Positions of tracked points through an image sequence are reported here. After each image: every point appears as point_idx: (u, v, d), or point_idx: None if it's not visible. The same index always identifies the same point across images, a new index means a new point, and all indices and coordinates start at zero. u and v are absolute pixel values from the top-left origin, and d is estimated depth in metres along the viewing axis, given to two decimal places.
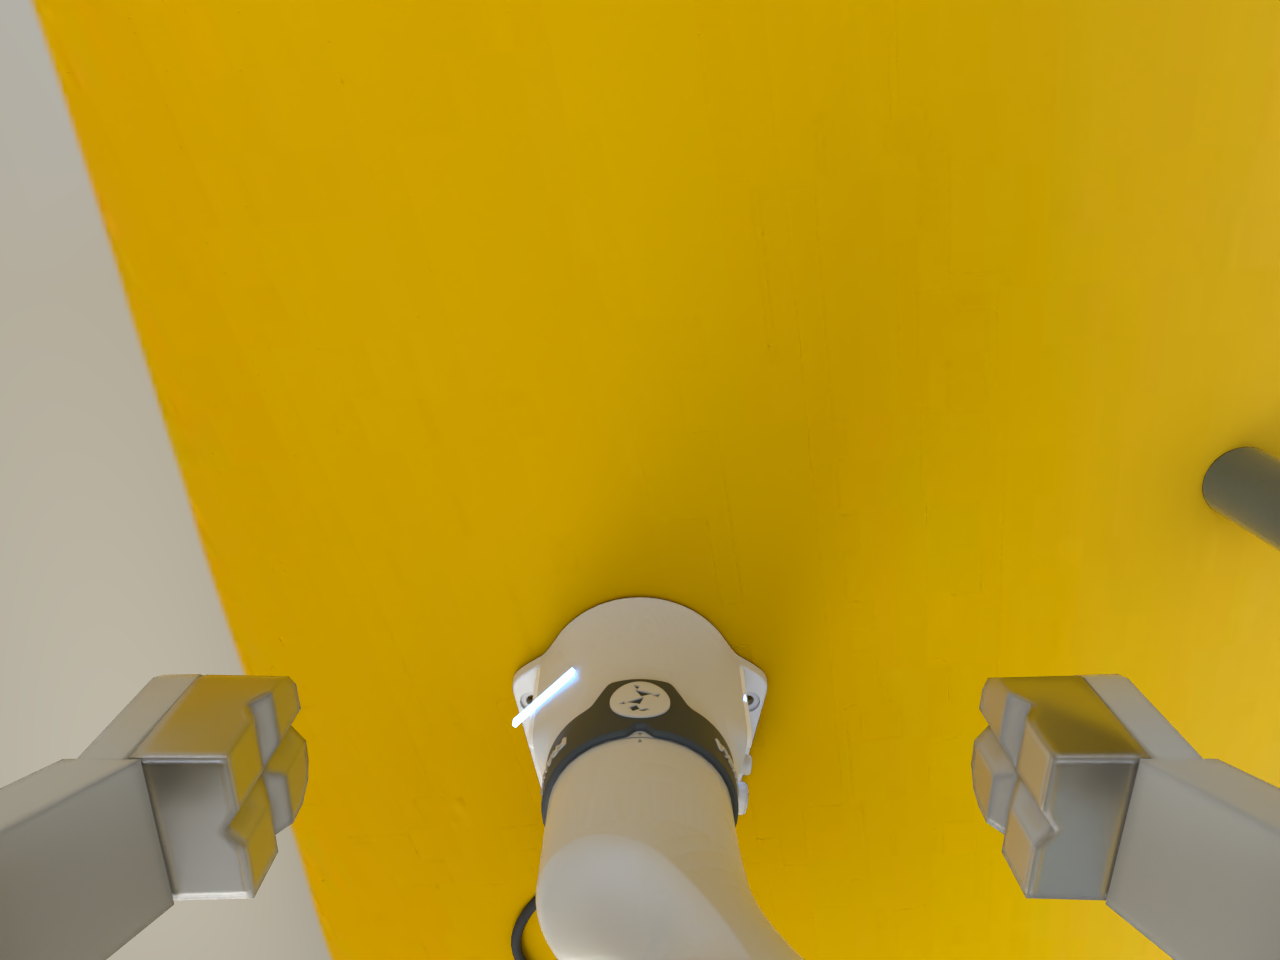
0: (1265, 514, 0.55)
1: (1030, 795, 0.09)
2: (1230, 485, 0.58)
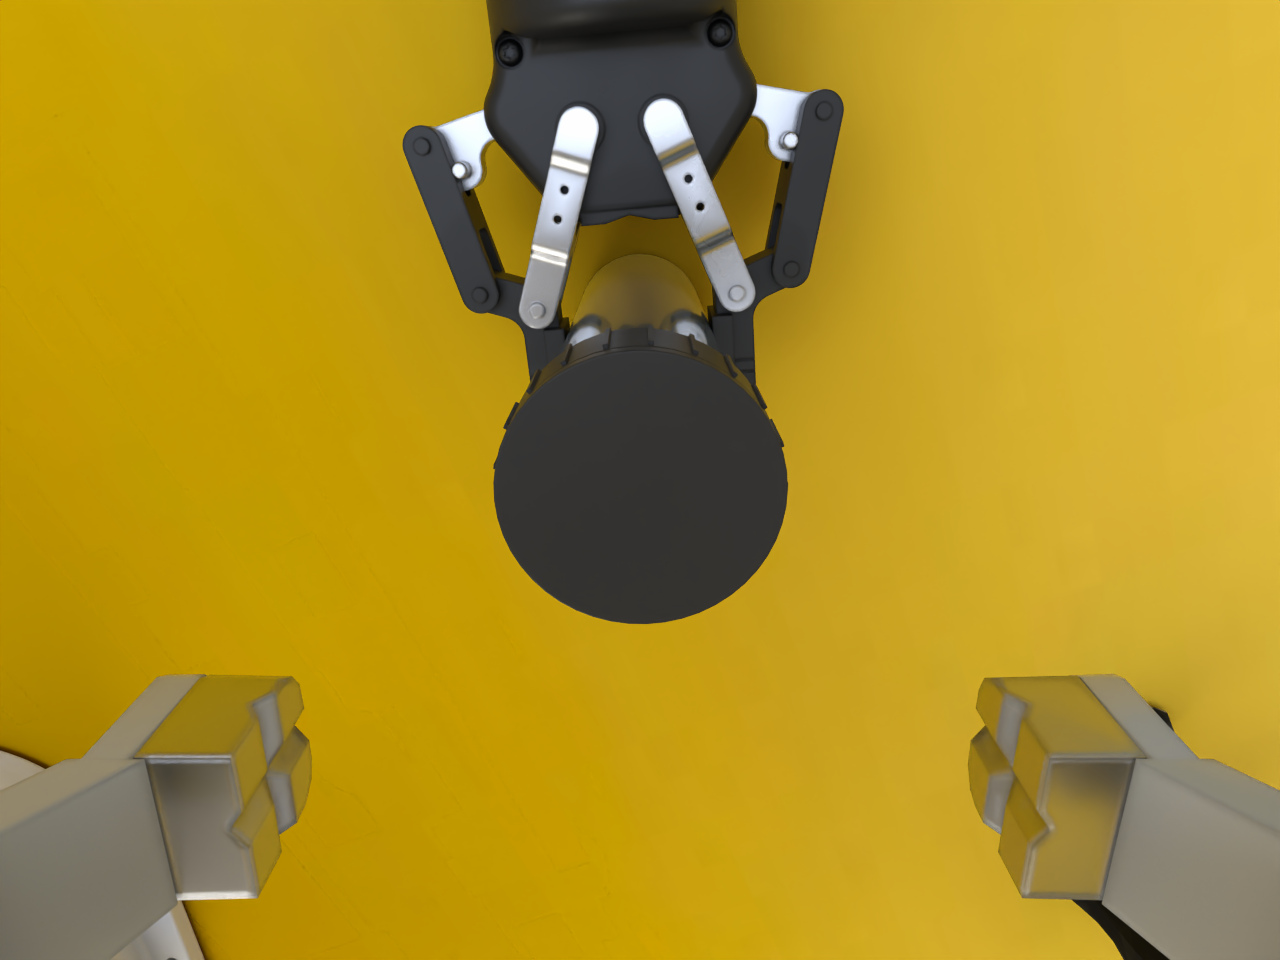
0: None
1: (1027, 794, 0.09)
2: None
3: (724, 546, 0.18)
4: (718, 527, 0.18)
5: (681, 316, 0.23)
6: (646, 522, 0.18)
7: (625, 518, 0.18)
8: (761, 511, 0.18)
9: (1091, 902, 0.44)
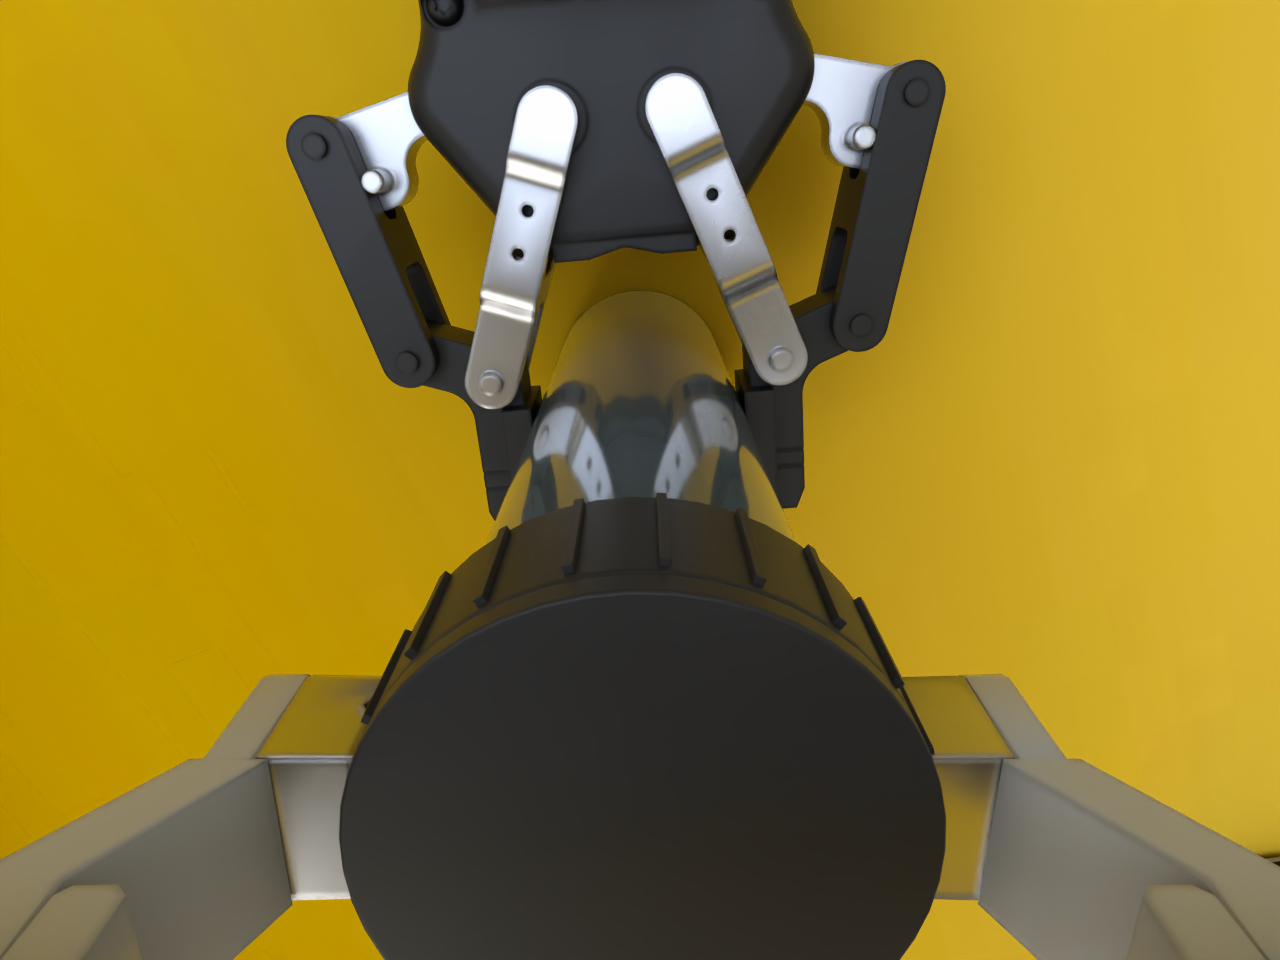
0: None
1: None
2: None
3: (811, 949, 0.09)
4: (800, 917, 0.09)
5: (707, 420, 0.15)
6: (654, 908, 0.09)
7: (611, 901, 0.09)
8: (889, 890, 0.09)
9: None
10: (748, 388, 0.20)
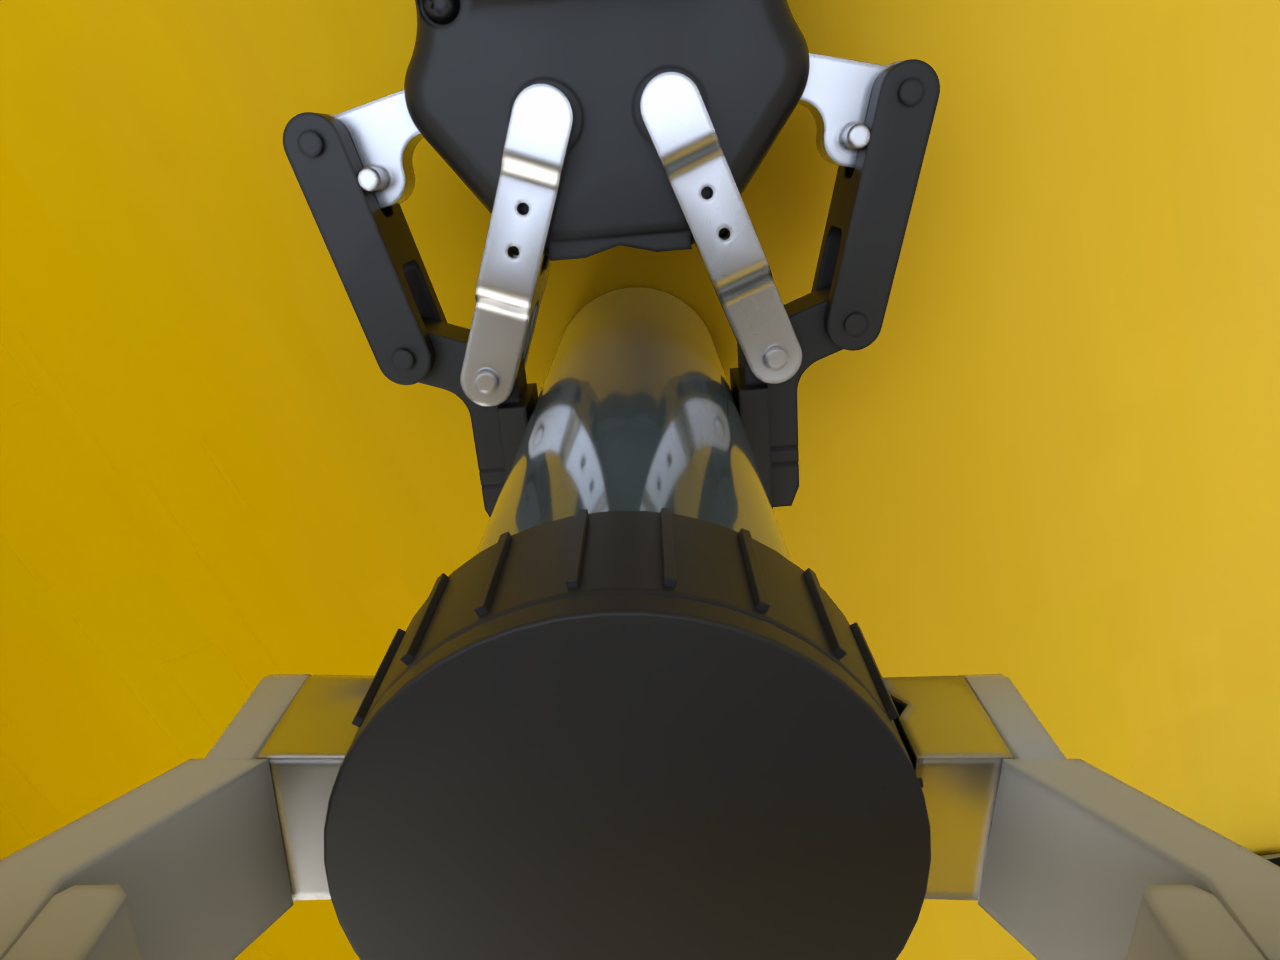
0: None
1: None
2: None
3: (719, 717, 0.08)
4: (675, 735, 0.08)
5: (699, 422, 0.15)
6: (685, 861, 0.08)
7: (683, 895, 0.09)
8: (620, 660, 0.08)
9: None
10: (743, 386, 0.21)
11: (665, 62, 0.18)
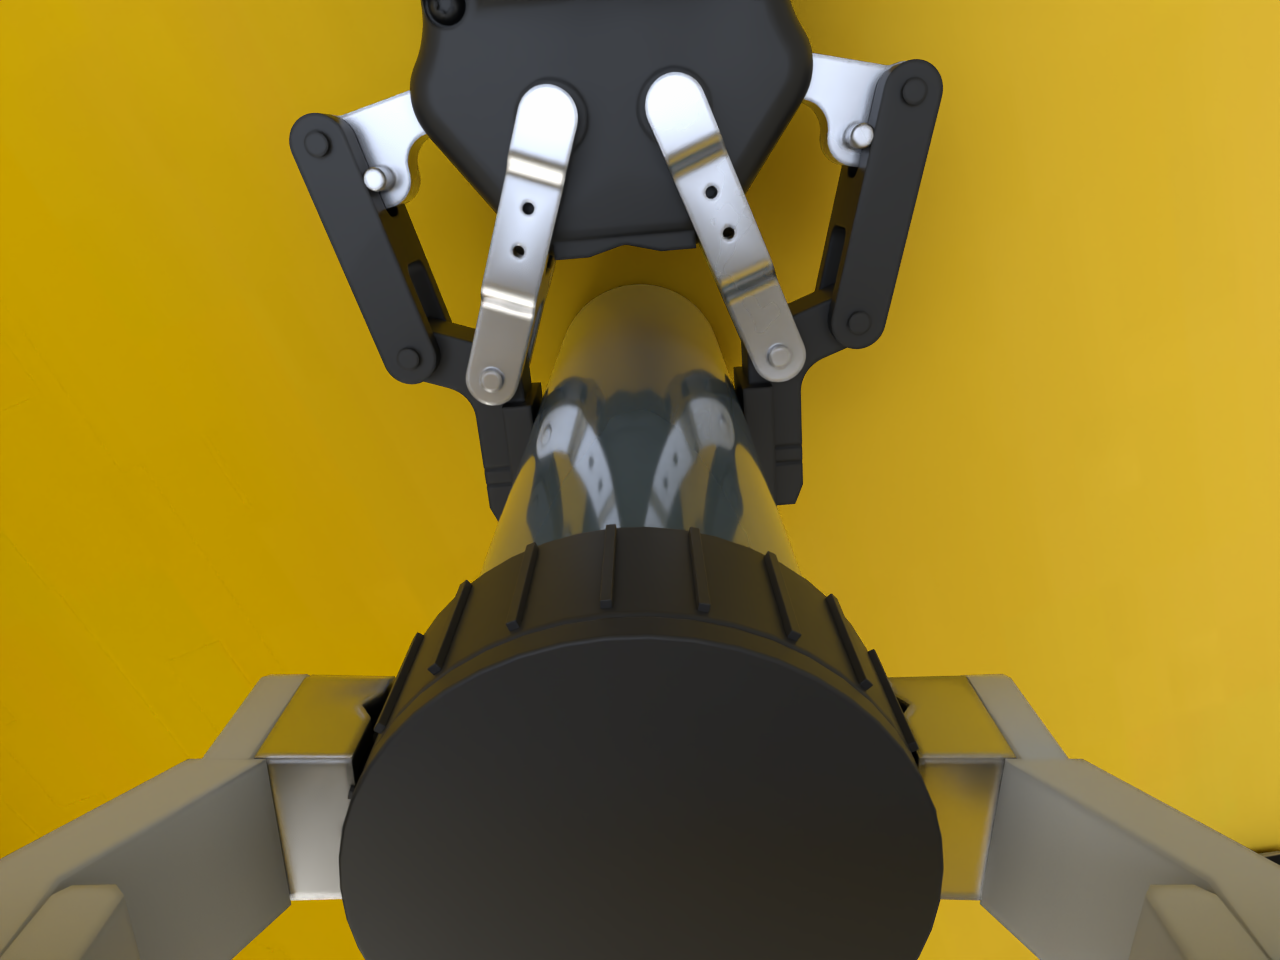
0: None
1: None
2: None
3: (433, 856, 0.08)
4: (463, 884, 0.08)
5: (705, 425, 0.15)
6: (609, 855, 0.08)
7: (654, 850, 0.08)
8: (398, 930, 0.09)
9: None
10: (747, 385, 0.21)
11: (670, 62, 0.18)
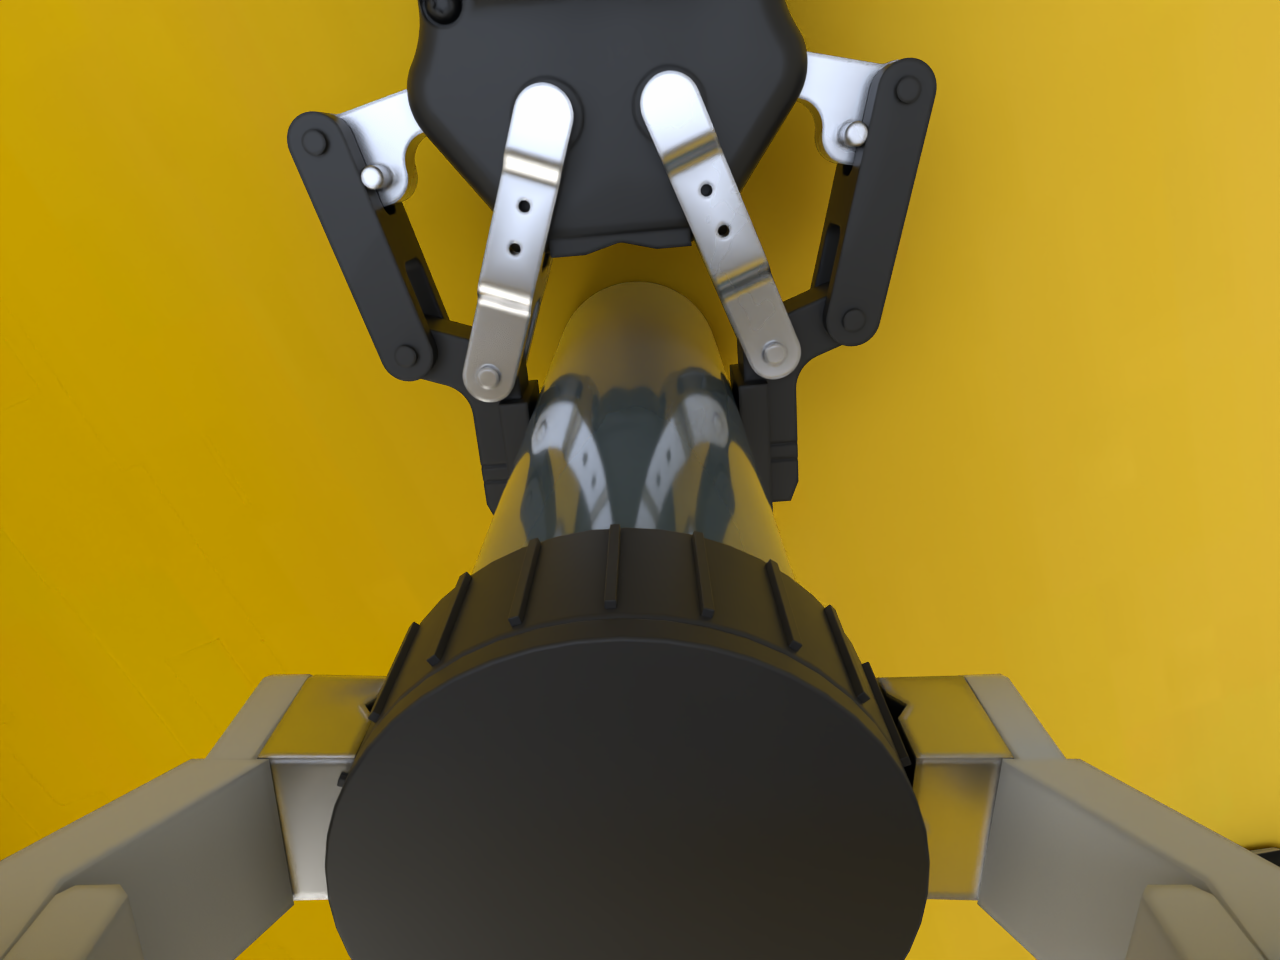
0: None
1: None
2: None
3: None
4: None
5: (698, 422, 0.15)
6: (580, 926, 0.09)
7: (566, 894, 0.08)
8: None
9: None
10: (742, 382, 0.21)
11: (665, 61, 0.18)
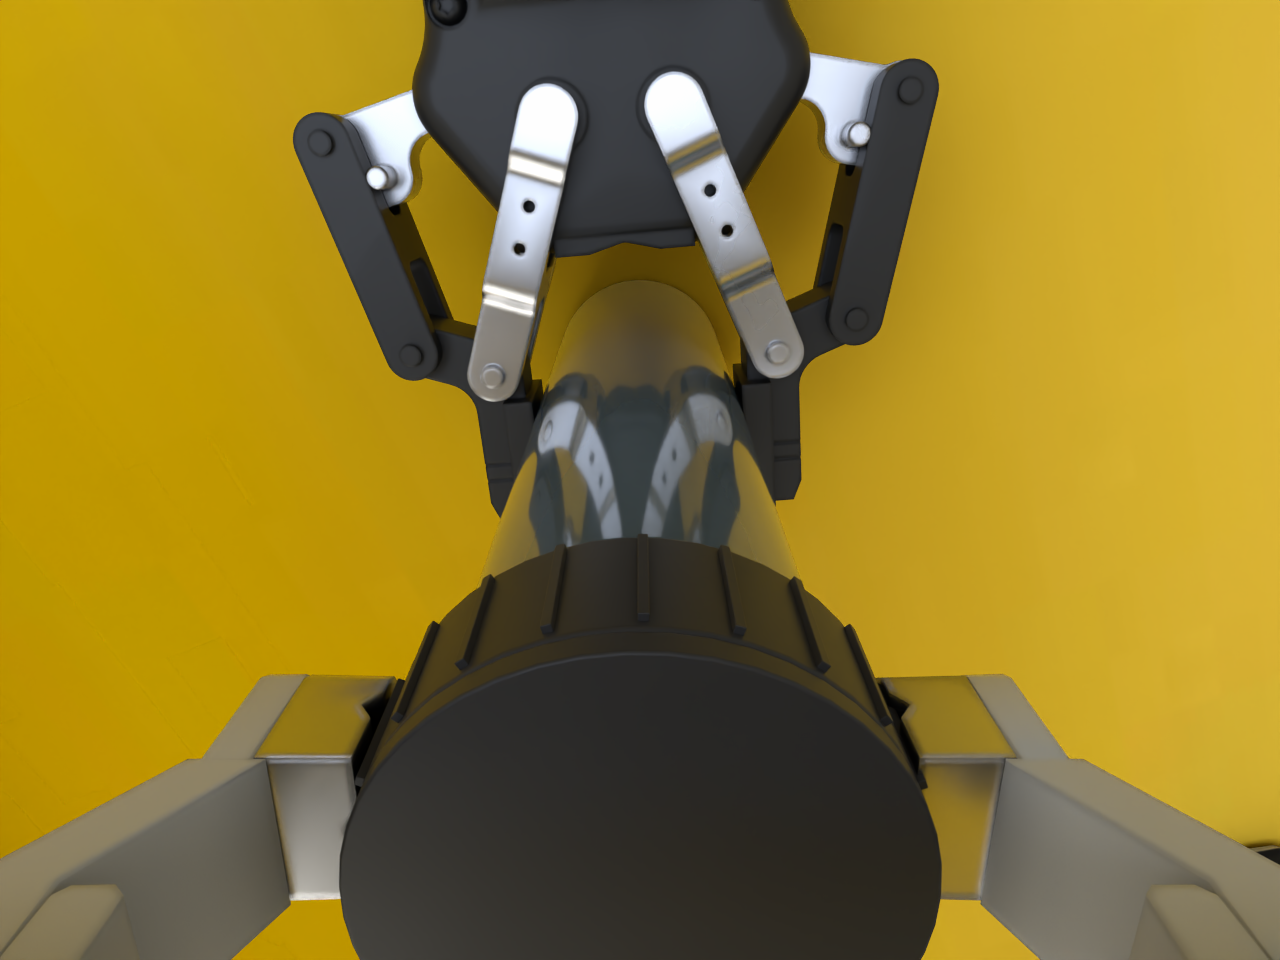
0: None
1: None
2: None
3: (850, 896, 0.08)
4: (814, 876, 0.08)
5: (704, 424, 0.15)
6: (685, 937, 0.09)
7: (646, 950, 0.09)
8: (871, 811, 0.08)
9: None
10: (746, 381, 0.21)
11: (669, 62, 0.18)
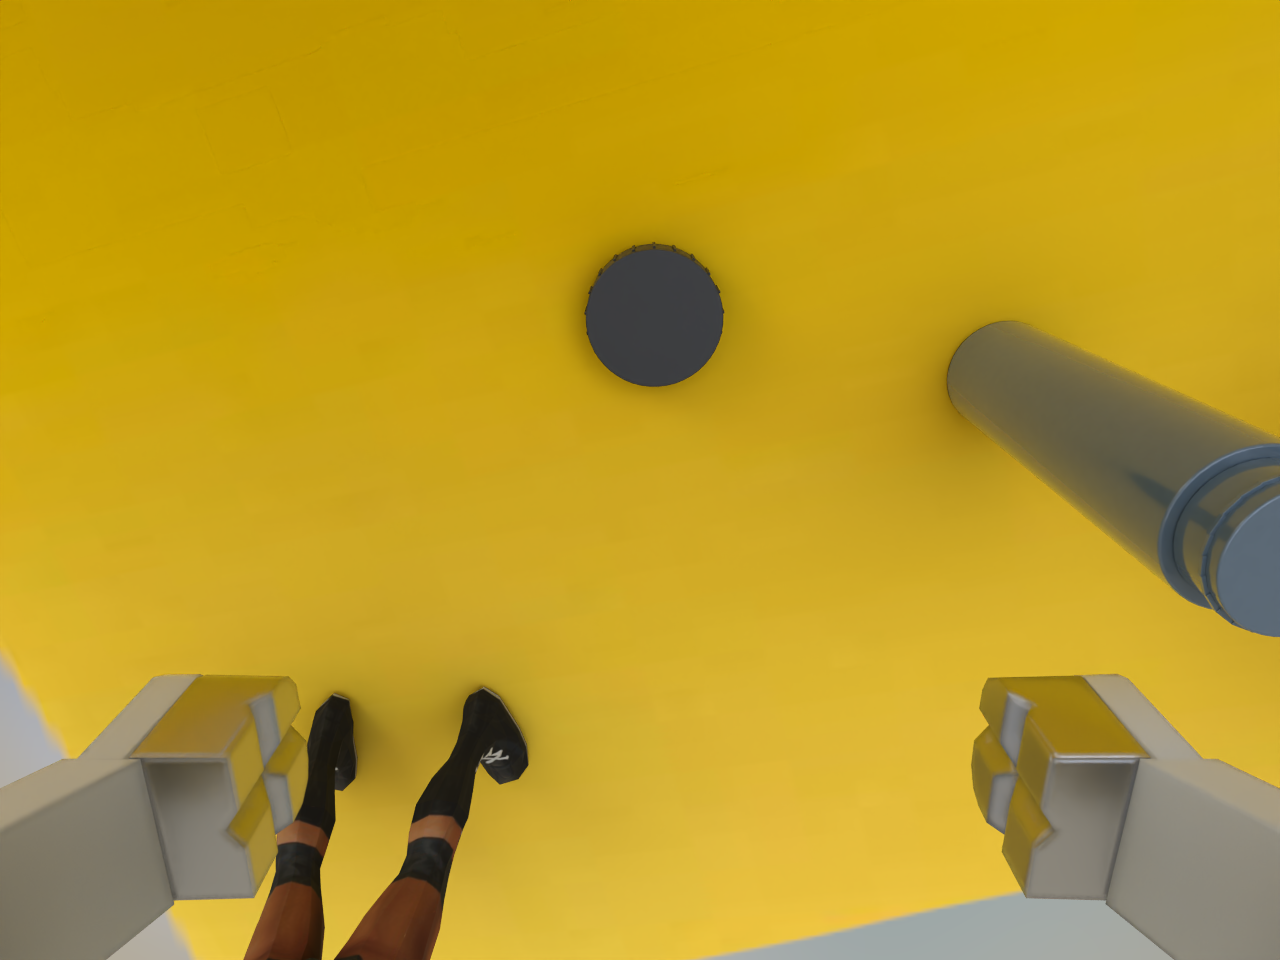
0: (1069, 351, 0.34)
1: (1031, 795, 0.09)
2: (1041, 332, 0.37)
3: (702, 315, 0.37)
4: (693, 309, 0.37)
5: None
6: (665, 328, 0.37)
7: (656, 333, 0.38)
8: (704, 290, 0.37)
9: (333, 730, 0.44)
10: None
11: None
